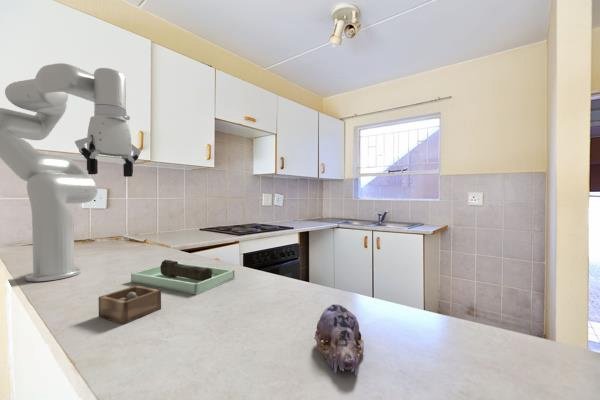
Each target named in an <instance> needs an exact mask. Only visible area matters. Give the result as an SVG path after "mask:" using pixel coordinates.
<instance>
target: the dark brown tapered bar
mask: <svg viewBox="0 0 600 400" xmlns="http://www.w3.org/2000/svg"><path fill="white" fill-rule="evenodd" d="M178 263H179V262H178V261H177V260H176V261H175V260H171V259H164V260H163V261H161V264H160V265H159V266H160V268H161V274H163V275H164V276H168V277H175V276H178V277H184V278H188V279H193V280H197V281H201V282H202V281H204V280H207V279H210V278H212V269H210V268H200V267H191V266H184V265H180V264H178Z"/></svg>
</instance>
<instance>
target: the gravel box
mask: <svg viewBox="0 0 600 400" xmlns="http://www.w3.org/2000/svg"><path fill="white" fill-rule="evenodd" d="M159 310H162V290H160V289H156V288H151V287H148V286H147V287H146V286H140V285H134V286H130V287H127V288H123V289H120V290H117V291H114V292H110V293H107V294H104V295H100V296H98V318H102V319H105V320H108V321H113V322H115V323H119V324H122V325H126V324H128V323H130V322H131V323H132V322H133V321H136V320H138V319H140V318H143V317H146V316H148V315H149V314H152V313H154V312H157V311H159Z"/></svg>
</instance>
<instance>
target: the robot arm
mask: <svg viewBox="0 0 600 400" xmlns="http://www.w3.org/2000/svg"><path fill="white" fill-rule="evenodd" d="M68 94H69V95H72V96H75V97H78V98H81V99H84V100H86V101H89V102H92V103H93V107H94V108H93V109H94V112H93V113H94V115H93V116H91V117H90V118H89V123H88V129H87V137H83V138H81V139H80V138H79V139H78V140H75V141H74V144H75V145H76V147H77V149H78V151H79V153H80V154H81V156H83V157H84V159H85V160H86V171H87V172H86V171H85V170H84V169H83V168H82V167H81V166H80V165H79V163H77V162H76V161H74V160H73V159H71V158H69V157H67V156H62V155H55V154H49V153H43V152H40V151H38V150H37V149H36V148H35V147H34V146H33V145H32V144H31V143H30V142H28V141H26V140H30V141H42V140H45V139H46V138H47V137H48V136H49V135H50V133H52V131H53V129H54V128H55V127H56V126H57V124H58V123H59V122H60V120H61V119H62V118H63V116H64V114H65V112H66V110H67V102H68V99H69V95H68ZM4 95H5V97H6V99H7V100H8V102H10V103H11V104H12V105H14V106H16V107H17V108H20V109H23V110H26V111H30V112H34V113H35V114H30V113H26V112H21V111H16V110H12V109H9V108H3V107H0V159H1V160H2V162H3V163H4V164H5V165H6V166H8V168H10V169H11V171H13V173H14V174H15V175H16V176H18V178H20V179H21V180H22V181H25V182H27V183H26V192H27V196H28V200H29V203H30V208H31V210H30V211H31V224H32V225H31V226H32V228H31V230H32V272H31V273H28V274H27V275H26V276H25V280H26V281H28V282H48V281H57V280H61V279H66V278H70V277H71V278H72V277H73V276H77V275H79V274H81V268H80V267H79V266H75V225H74V224H75V223H74V215H73V213H72V211H71V209H70V208H69V207H68V206H67V204H86V203H89V202H92V201H94V199H95V198H96V197H97V195H98V186H97V183H96V182H95V180H94V178H93V177H92V176H91V175H98V172H99V171H98V162H99V161H98V159H97V156H98V155H99V156H100V155H101V156H109V157H115V158H116V157H118V158H119V157H121V159H122V160H123V161H124V163H123V165H122V167H123V177H125V178H130V177H133V174H134V164H135V163H136V161H137V160H139V157H140V154H141V153H142V151H141V149H140V148H138V147H136V146H135V145H134V144H133V143H132V136H131V135H132V134H131V129H130V125H129V122H127V121H130V118H131V117H130V115H127V81H126V77H125V75H124V74H123V73H122V72H120V71H118V70H115V69H113V68H108V67H107V68H106V67H99V68H97V69H95V70H94V72H93V73H92V72H88V71H86V70H84V69H82V68H79V67H77V66H74V65H72V64H67V63H64V62H63V63H59V62H58V63H52V64H47V65H44V66H42V67H40V69H39V70H38V71H37V73H36V75H35V78H30V79H24V80H19V81H14V82H11V83H10V84H8V85H7V86H6V88H5V89H4ZM24 139H25V140H24ZM132 152H133V153H132Z"/></svg>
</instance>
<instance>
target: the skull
mask: <svg viewBox="0 0 600 400" xmlns="http://www.w3.org/2000/svg"><path fill="white" fill-rule="evenodd" d="M315 329H316V330H315V333H314V337H313V338H314V340H316V346H317V349H318V351H319V352H320V353H322V355H323V356H324V357H325V358H324V359H326V362H327V363H328V364H329V366H330V367H332V368H334V373H337V370H338V366H339V370H340V371H342V372H344V371H345V370H351V371H350V372H351V373H352V372H354V376H357V374H358V369H359V363H360V358H361V357H362V356H363V354H364V347H365V346H364V345H365V343H364V341H363V340H362V334H361V332H360V325H359V322H358V319H357V316H355V315H354V314H353V313H352V312H351V311H350V310H348V309H347V308H346V307H345V306H343V305H342V304H338V303H337V304H336V303H333V304H331V305H329V306H328V307H326V308H325V309H324V311H323V312H322V314H321V316H320V317H319V320H318V321H317V323H316V328H315ZM357 347H359V349H358V348H357Z"/></svg>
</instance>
